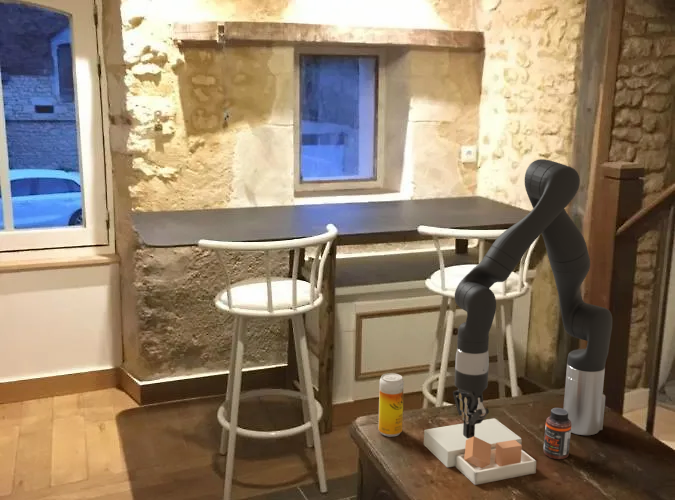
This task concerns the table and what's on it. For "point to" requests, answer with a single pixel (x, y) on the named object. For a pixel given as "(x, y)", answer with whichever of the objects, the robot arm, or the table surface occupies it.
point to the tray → (495, 469)
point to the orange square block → (477, 452)
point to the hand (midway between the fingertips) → (468, 436)
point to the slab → (464, 439)
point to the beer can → (391, 404)
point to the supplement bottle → (557, 434)
